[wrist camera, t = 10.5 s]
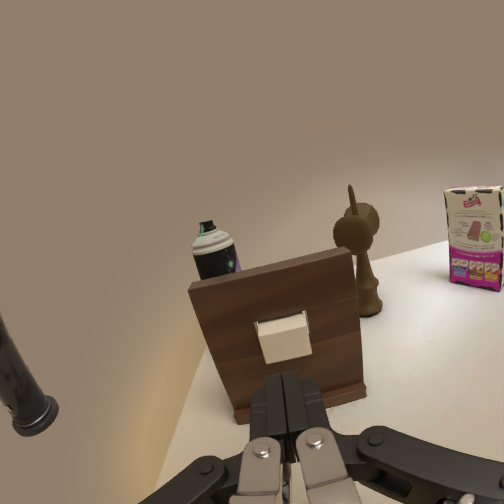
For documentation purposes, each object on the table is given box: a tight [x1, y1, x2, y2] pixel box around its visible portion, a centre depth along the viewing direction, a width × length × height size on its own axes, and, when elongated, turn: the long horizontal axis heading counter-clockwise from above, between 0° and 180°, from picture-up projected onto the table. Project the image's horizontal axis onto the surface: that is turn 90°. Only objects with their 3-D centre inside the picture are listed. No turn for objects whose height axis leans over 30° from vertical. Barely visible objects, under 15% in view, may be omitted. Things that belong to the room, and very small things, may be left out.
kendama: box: [333, 185, 383, 316], centre depth 39 cm, size 6×10×20 cm, turn 149°
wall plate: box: [188, 246, 366, 425], centre depth 27 cm, size 8×14×16 cm, turn 89°
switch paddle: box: [258, 311, 312, 364], centre depth 23 cm, size 3×4×3 cm
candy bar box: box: [444, 186, 504, 291], centre depth 35 cm, size 11×5×16 cm, turn 27°
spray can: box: [191, 220, 241, 280], centre depth 38 cm, size 6×6×20 cm
